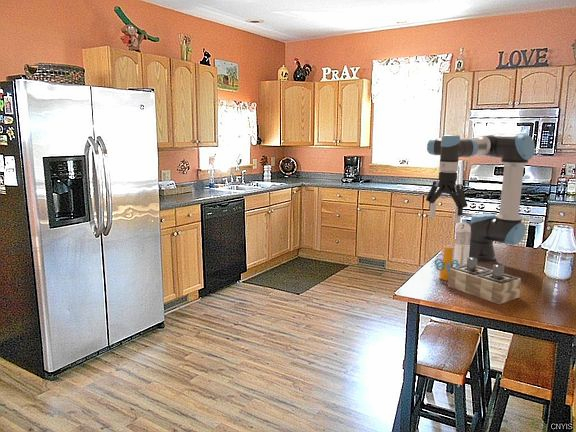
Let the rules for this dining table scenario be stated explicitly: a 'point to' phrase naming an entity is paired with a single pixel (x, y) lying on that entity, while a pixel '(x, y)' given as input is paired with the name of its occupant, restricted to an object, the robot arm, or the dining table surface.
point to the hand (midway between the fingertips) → (444, 220)
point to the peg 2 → (498, 271)
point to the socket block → (484, 284)
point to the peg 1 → (471, 264)
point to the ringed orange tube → (446, 263)
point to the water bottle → (462, 243)
